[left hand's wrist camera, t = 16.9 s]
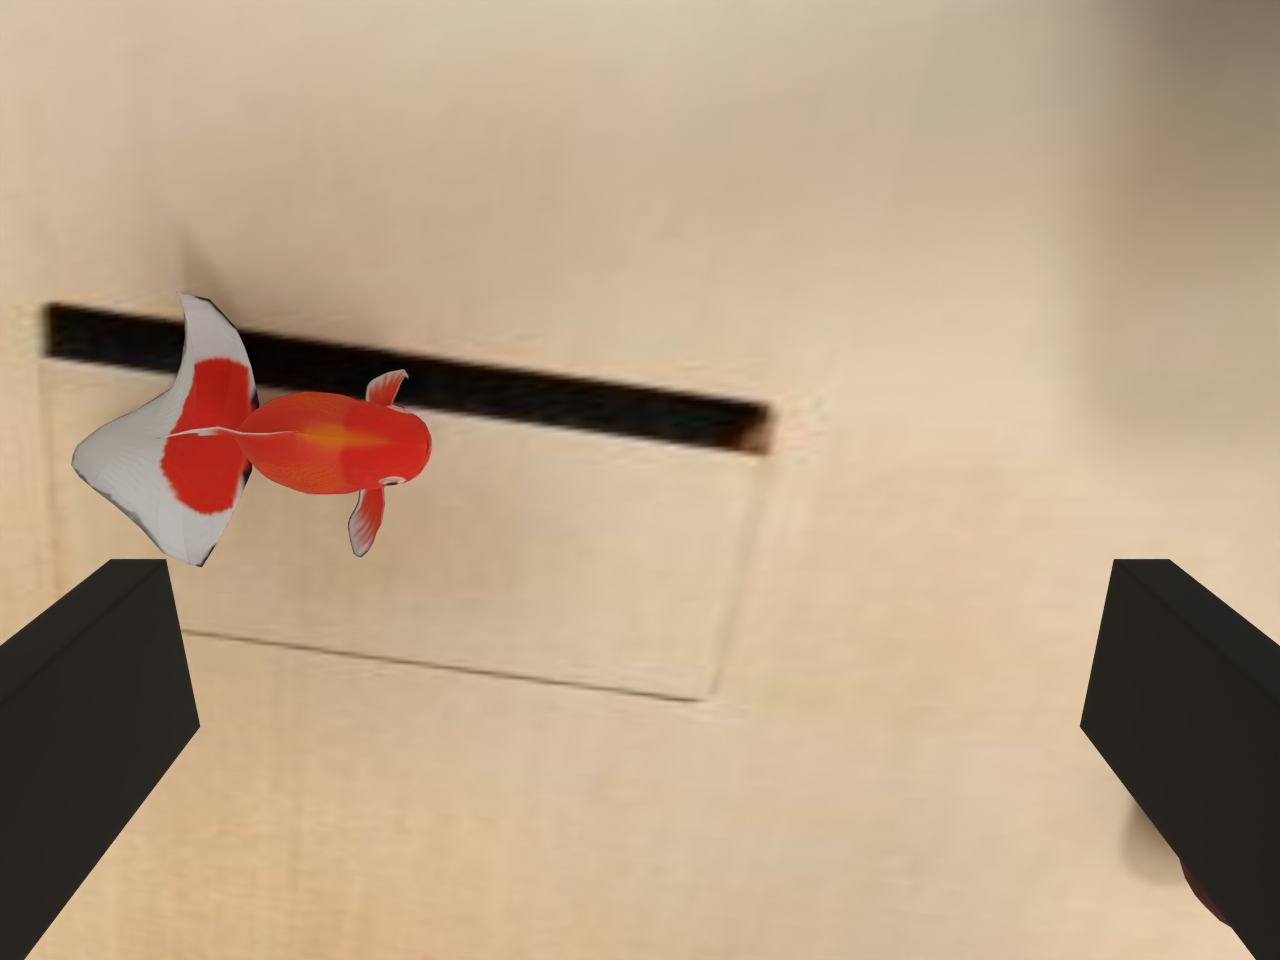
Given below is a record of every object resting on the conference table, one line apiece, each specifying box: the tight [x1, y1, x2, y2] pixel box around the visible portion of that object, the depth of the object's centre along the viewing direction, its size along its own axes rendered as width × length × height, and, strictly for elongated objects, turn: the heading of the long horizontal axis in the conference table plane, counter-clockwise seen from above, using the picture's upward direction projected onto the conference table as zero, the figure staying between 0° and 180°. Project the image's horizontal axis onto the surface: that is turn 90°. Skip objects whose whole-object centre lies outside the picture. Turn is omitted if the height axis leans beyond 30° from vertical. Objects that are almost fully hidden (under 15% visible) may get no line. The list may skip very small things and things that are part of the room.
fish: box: [71, 292, 432, 567], centre depth 37 cm, size 11×16×10 cm
